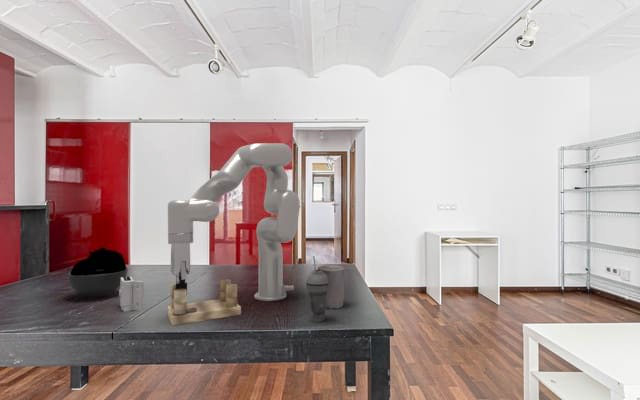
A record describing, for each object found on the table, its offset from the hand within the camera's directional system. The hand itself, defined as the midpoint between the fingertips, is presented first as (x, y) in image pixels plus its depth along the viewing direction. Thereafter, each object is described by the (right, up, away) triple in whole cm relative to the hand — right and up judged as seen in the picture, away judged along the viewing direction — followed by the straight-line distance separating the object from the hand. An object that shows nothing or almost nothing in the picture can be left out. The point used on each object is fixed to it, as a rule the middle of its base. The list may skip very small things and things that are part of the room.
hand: (181, 295), depth 106 cm
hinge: (-23, -8, +11) cm, 26 cm away
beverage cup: (+44, -8, -1) cm, 44 cm away
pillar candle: (+49, -8, +14) cm, 51 cm away
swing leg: (+3, -4, -3) cm, 6 cm away
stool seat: (+6, -7, +4) cm, 10 cm away
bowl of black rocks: (-44, -8, +26) cm, 52 cm away
